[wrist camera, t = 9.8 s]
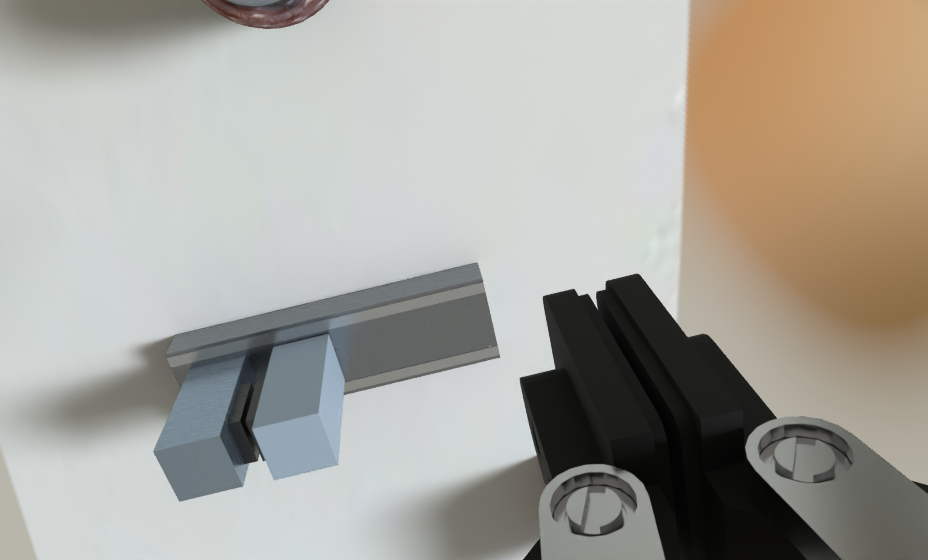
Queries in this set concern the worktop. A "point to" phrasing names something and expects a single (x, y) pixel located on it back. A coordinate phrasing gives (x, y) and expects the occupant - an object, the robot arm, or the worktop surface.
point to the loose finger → (299, 408)
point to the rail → (357, 349)
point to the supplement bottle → (266, 11)
